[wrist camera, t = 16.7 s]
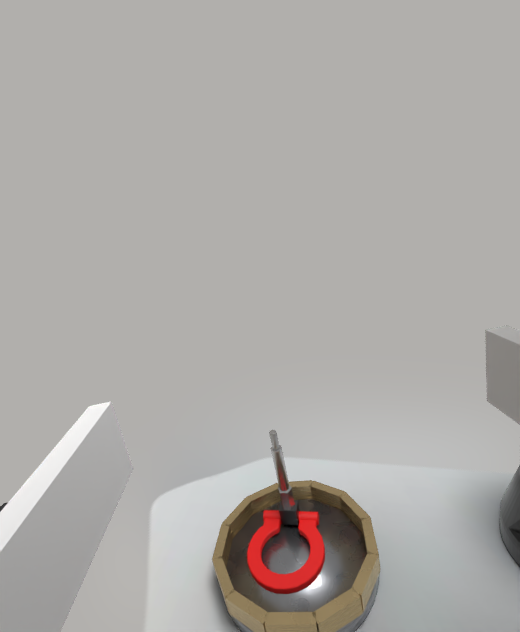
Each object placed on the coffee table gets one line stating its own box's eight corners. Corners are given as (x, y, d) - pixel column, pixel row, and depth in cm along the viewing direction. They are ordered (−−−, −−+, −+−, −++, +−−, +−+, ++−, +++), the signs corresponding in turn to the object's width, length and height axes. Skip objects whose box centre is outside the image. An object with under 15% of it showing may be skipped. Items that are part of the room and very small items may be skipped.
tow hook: (323, 601, 34) (327, 518, 42) (302, 493, 30) (311, 426, 38) (240, 593, 36) (259, 515, 44) (210, 491, 32) (238, 428, 41)
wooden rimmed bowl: (400, 534, 40) (397, 509, 39) (335, 702, 27) (329, 670, 27) (277, 487, 51) (273, 467, 50) (189, 593, 38) (181, 567, 37)
